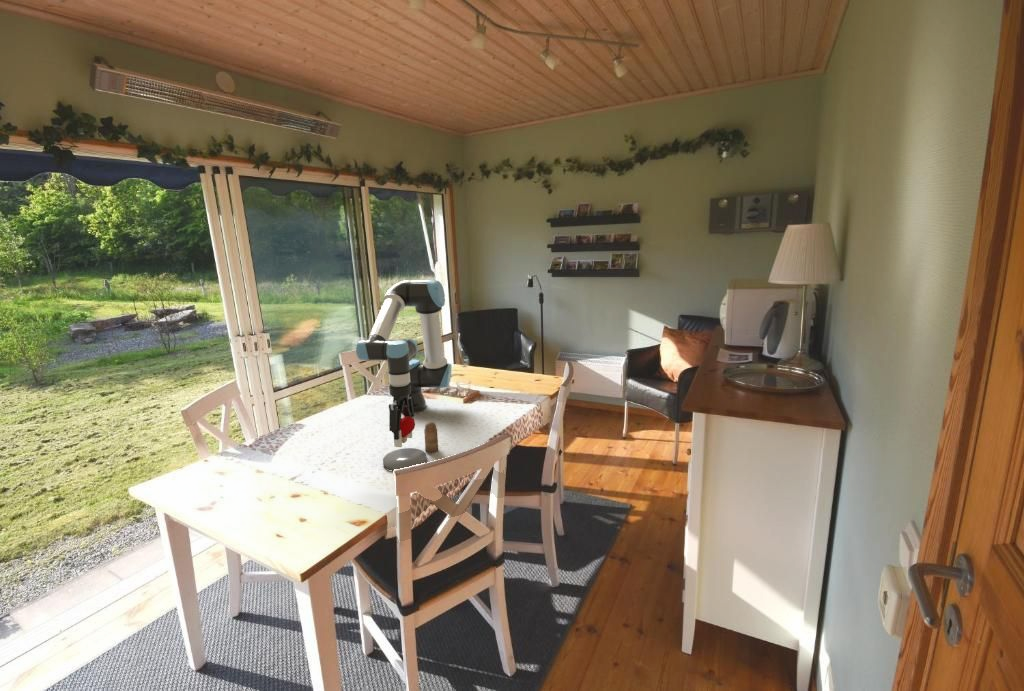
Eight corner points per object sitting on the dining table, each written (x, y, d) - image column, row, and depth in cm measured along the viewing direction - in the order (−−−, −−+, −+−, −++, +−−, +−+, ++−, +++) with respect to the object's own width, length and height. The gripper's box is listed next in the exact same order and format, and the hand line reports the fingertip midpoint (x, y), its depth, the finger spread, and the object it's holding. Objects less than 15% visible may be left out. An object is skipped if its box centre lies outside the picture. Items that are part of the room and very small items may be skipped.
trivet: (396, 449, 189) (395, 446, 189) (433, 454, 185) (433, 450, 185) (374, 469, 174) (374, 465, 174) (414, 474, 170) (414, 470, 170)
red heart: (391, 448, 173) (389, 422, 171) (390, 440, 180) (388, 415, 177) (416, 444, 176) (415, 419, 173) (415, 437, 182) (414, 412, 180)
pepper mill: (428, 447, 191) (427, 419, 188) (440, 448, 190) (438, 420, 187) (423, 452, 187) (421, 424, 184) (435, 454, 185) (433, 425, 183)
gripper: (403, 374, 183) (407, 430, 188) (375, 391, 164) (380, 452, 169) (421, 376, 181) (424, 432, 186) (395, 393, 162) (399, 455, 167)
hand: (403, 441), depth 177 cm, fingers closed on red heart, 7 cm apart
